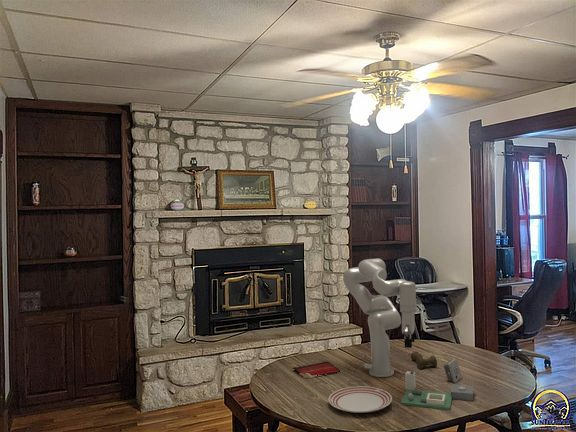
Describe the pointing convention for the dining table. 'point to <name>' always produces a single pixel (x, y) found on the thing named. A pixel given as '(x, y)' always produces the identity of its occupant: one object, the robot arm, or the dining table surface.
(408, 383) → the plug
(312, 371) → the binder
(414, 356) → the brown bone-shaped piece
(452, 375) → the electrical switch
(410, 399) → the board
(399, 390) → the dining table surface
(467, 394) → the grey knob block
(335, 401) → the dinner plate
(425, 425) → the dining table surface
